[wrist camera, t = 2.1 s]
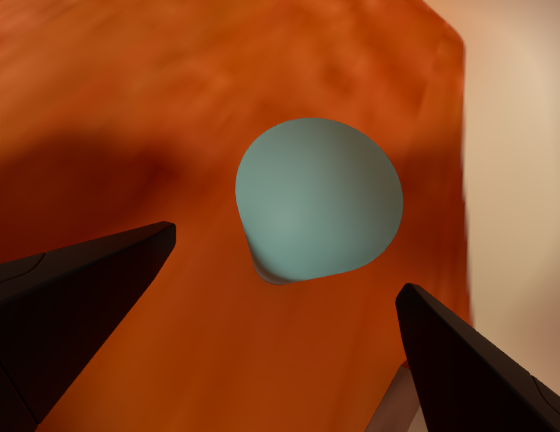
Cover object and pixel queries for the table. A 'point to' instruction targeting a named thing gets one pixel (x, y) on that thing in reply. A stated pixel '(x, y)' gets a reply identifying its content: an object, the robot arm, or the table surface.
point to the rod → (316, 200)
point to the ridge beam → (399, 407)
